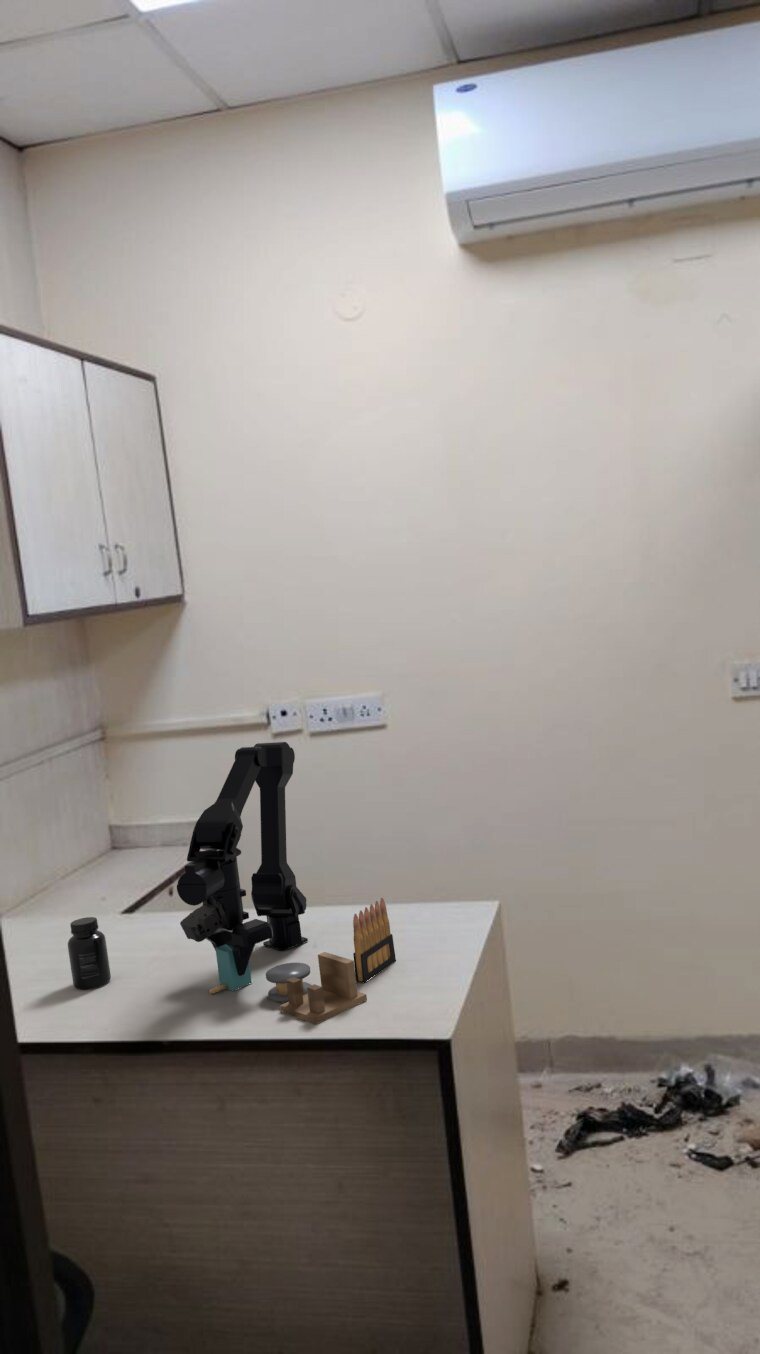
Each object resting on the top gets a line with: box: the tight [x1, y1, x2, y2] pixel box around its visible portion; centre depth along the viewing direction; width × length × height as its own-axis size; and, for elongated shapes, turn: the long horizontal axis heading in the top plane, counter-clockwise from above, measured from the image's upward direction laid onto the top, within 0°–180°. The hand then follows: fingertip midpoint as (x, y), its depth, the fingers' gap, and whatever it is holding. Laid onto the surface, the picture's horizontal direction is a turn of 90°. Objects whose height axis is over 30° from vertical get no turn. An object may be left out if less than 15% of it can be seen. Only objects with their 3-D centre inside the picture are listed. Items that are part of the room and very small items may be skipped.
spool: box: [265, 962, 312, 1004], centre depth 176 cm, size 8×8×4 cm
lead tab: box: [209, 944, 252, 995], centre depth 181 cm, size 4×7×7 cm, turn 133°
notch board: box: [279, 951, 368, 1025], centre depth 169 cm, size 9×11×7 cm
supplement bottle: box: [67, 916, 112, 991], centre depth 191 cm, size 7×7×12 cm
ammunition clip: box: [352, 897, 397, 984], centre depth 182 cm, size 11×2×12 cm, turn 148°
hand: (234, 972), depth 183 cm, fingers closed on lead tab, 4 cm apart
